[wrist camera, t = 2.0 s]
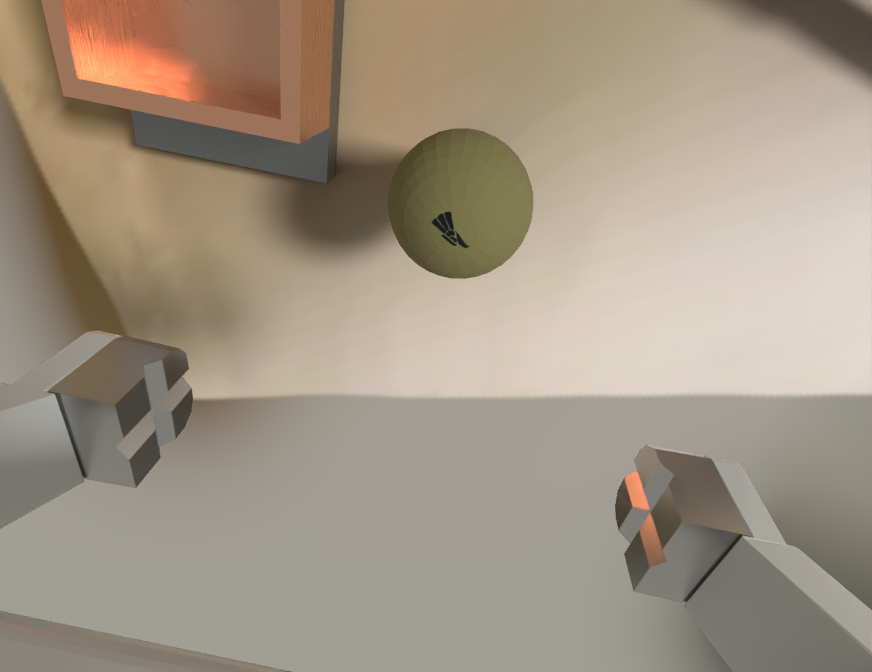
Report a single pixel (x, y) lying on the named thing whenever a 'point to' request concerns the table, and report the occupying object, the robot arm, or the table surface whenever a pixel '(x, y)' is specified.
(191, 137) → the desk organizer
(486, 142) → the light bulb
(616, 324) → the table surface
